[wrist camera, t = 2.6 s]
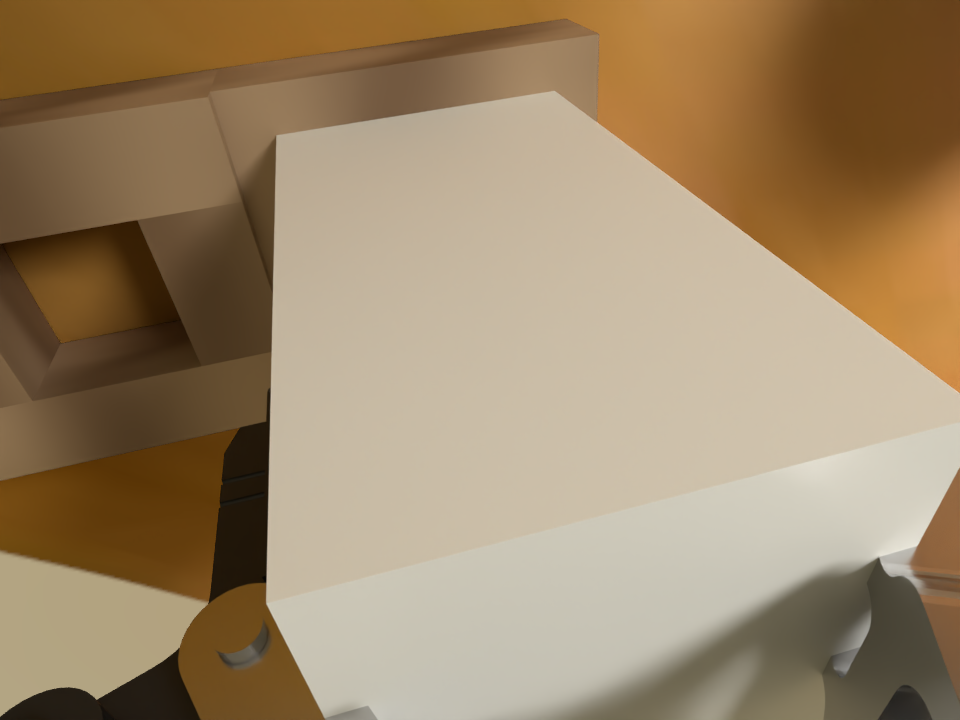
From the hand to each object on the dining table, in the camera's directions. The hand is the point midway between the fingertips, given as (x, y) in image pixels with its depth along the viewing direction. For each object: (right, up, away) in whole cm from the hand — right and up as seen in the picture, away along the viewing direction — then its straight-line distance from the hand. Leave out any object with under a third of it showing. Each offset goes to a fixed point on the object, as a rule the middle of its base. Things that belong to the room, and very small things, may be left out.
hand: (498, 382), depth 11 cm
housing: (-1, +3, +4) cm, 6 cm away
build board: (-10, +3, +5) cm, 11 cm away
